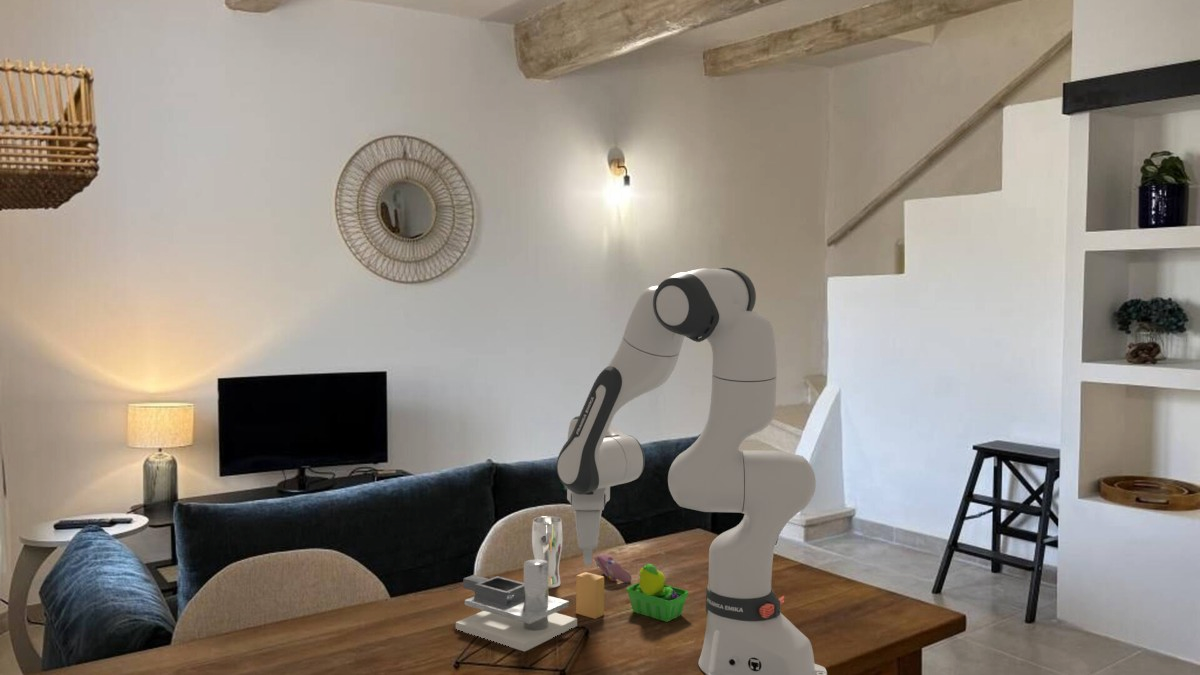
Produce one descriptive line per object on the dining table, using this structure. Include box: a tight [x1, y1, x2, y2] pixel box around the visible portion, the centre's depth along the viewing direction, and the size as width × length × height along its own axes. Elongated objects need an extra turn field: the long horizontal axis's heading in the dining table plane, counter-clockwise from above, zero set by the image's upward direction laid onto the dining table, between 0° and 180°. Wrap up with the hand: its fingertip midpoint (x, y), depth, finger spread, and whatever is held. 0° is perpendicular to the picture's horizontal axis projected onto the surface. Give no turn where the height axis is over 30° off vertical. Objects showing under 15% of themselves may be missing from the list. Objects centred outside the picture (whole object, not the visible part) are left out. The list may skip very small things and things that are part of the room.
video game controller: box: [594, 552, 632, 584], centre depth 210 cm, size 10×5×7 cm, turn 25°
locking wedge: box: [575, 571, 605, 620], centre depth 187 cm, size 5×3×8 cm, turn 54°
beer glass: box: [531, 515, 564, 590], centre depth 205 cm, size 7×7×15 cm
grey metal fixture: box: [462, 559, 570, 631], centre depth 180 cm, size 22×12×12 cm, turn 54°
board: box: [455, 610, 578, 652], centre depth 179 cm, size 18×16×2 cm
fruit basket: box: [626, 563, 689, 623], centre depth 186 cm, size 11×9×11 cm
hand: (588, 556), depth 186 cm, fingers open, 8 cm apart
